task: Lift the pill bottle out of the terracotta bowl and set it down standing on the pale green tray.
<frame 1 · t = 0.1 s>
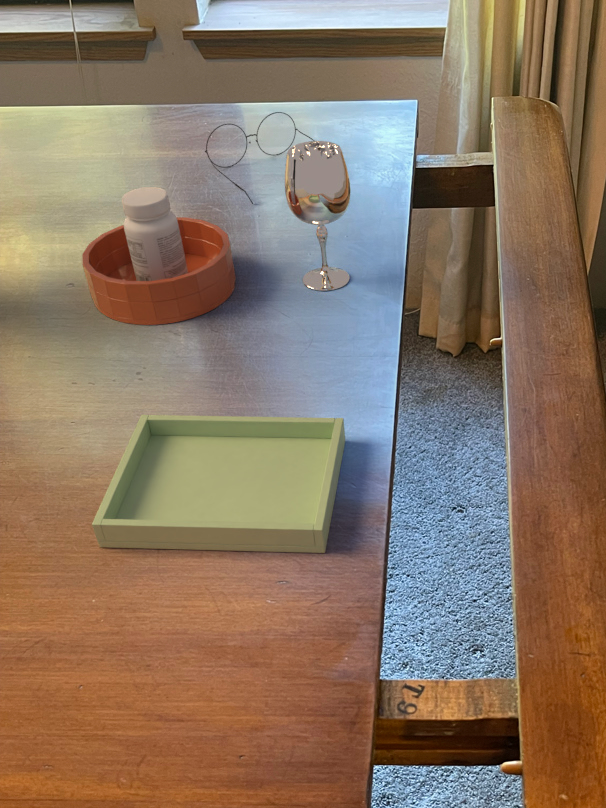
bowl: (165, 288, 89), on the table
tray: (229, 490, 67), on the table
wineglass: (326, 281, 90), on the table
eyeglasses: (274, 178, 108), on the table
pill bottle: (164, 285, 89), resting on bowl
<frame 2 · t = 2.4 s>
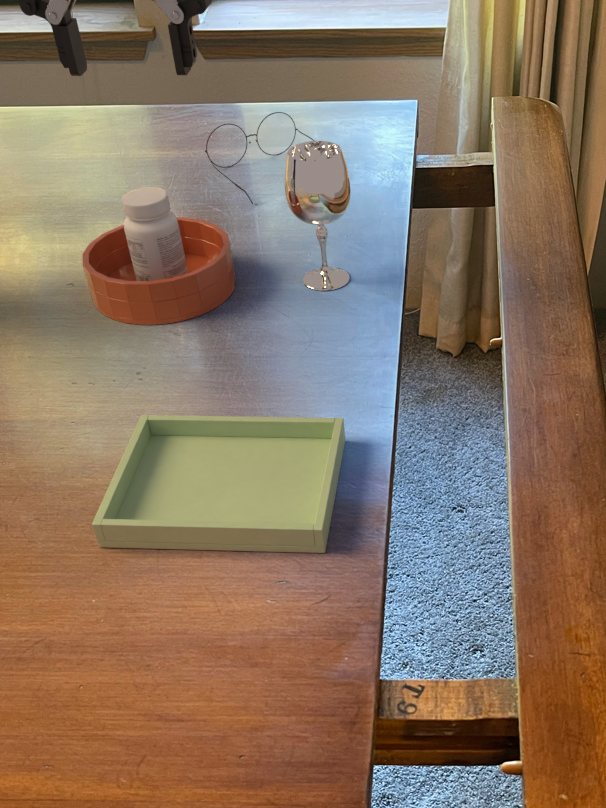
hand: (131, 72, 75), 19 cm above the table, tool pointing down, fingers open, 8 cm apart
nothing on the table moved.
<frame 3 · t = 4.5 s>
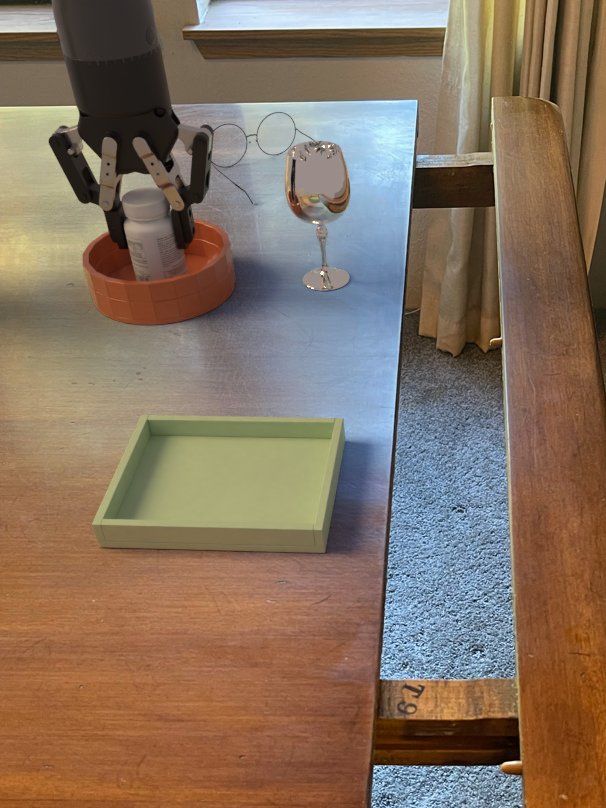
hand: (155, 244, 86), 4 cm above the table, tool pointing down, fingers closed on pill bottle, 4 cm apart
pill bottle: (164, 285, 89), resting on bowl, touching gripper
everything else where it was.
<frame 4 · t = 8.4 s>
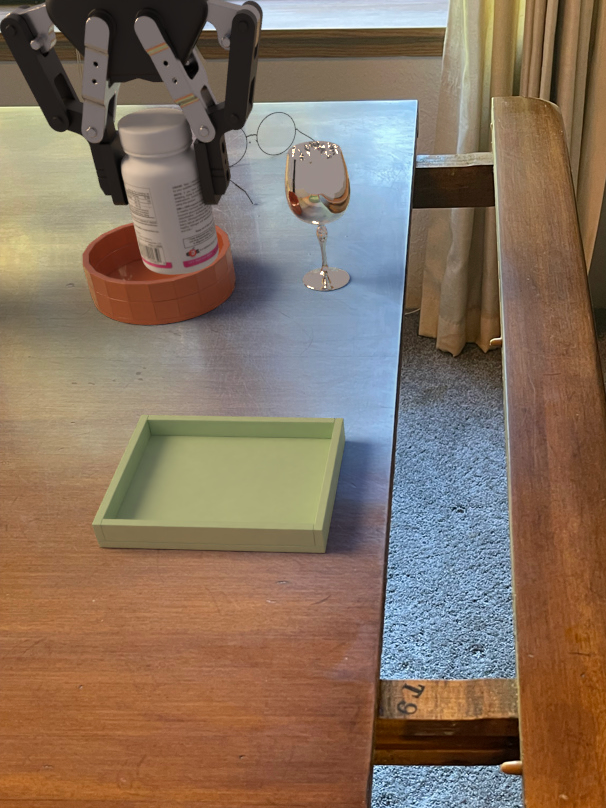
hand: (168, 198, 56), 20 cm above the table, tool pointing down, fingers closed on pill bottle, 4 cm apart
pill bottle: (182, 261, 59), point 16 cm above the table, touching gripper
everything else where it was.
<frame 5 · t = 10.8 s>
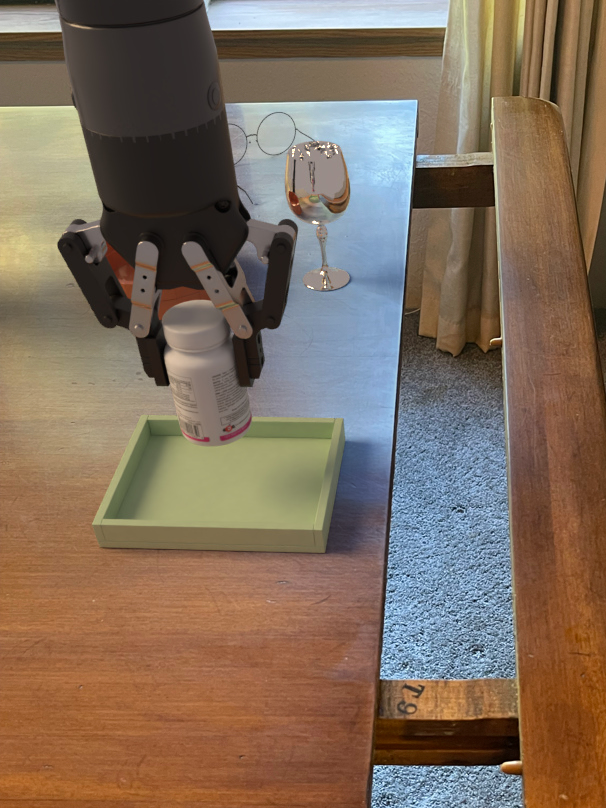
hand: (207, 378, 61), 9 cm above the table, tool pointing down, fingers closed on pill bottle, 4 cm apart
pill bottle: (217, 429, 64), point 5 cm above the table, touching gripper
everything else where it was.
when the fingers open (4 cm above the table, at t = 12.4 s): pill bottle stays where it is, resting on tray.
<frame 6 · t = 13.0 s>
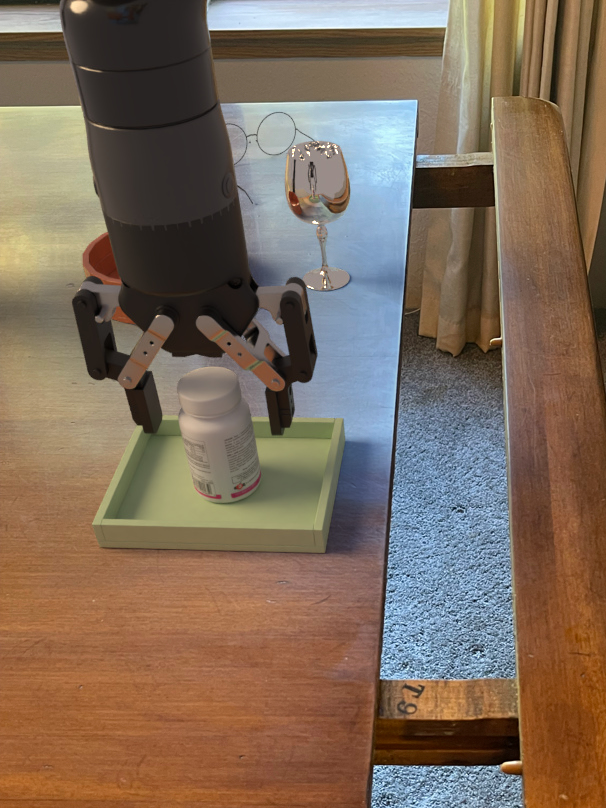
hand: (216, 427, 63), 6 cm above the table, tool pointing down, fingers open, 8 cm apart
pill bottle: (228, 485, 67), resting on tray
everything else where it was.
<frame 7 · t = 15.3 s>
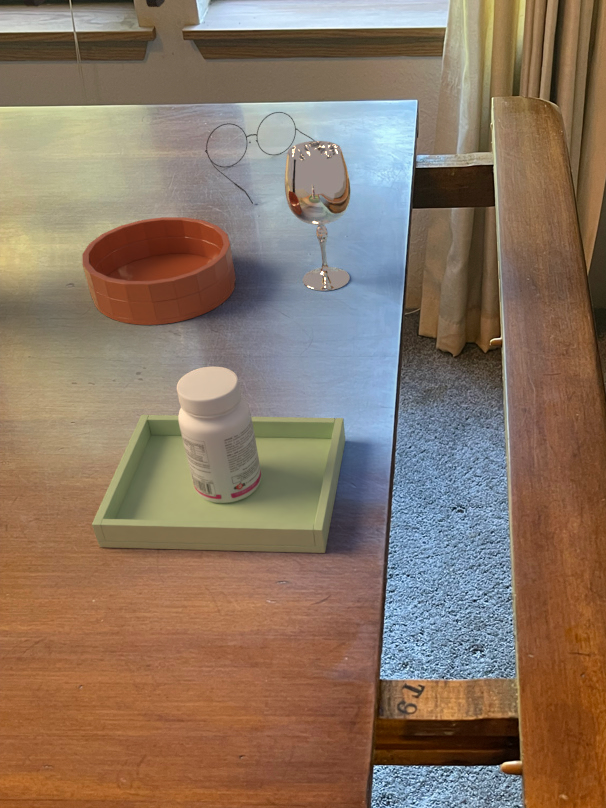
hand: (95, 4, 65), 26 cm above the table, tool pointing down, fingers open, 8 cm apart
nothing on the table moved.
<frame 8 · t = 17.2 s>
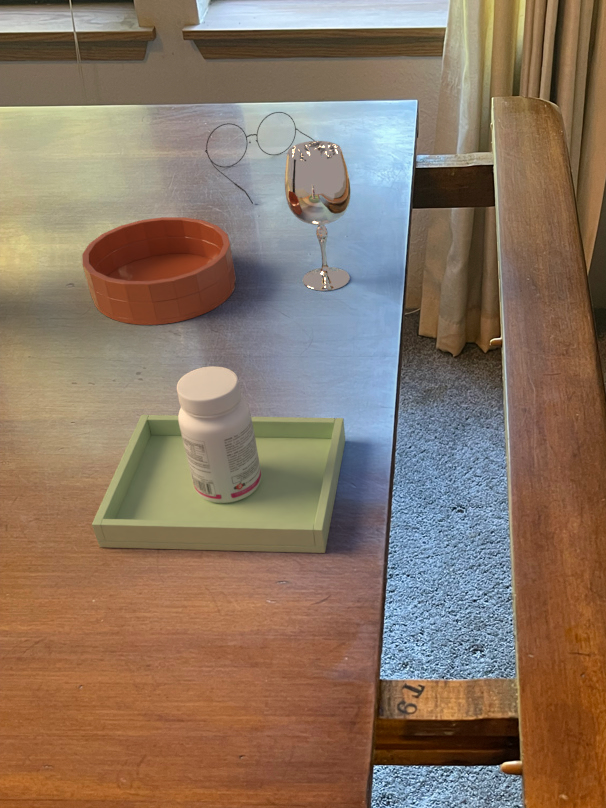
nothing on the table moved.
at the end: pill bottle inside the target area in the tray (0.1 cm from its centre), point 0.4 cm above the tray's base; pill bottle tilted 0°; pill bottle touching tray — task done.
